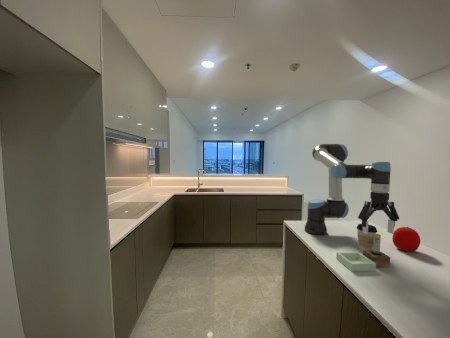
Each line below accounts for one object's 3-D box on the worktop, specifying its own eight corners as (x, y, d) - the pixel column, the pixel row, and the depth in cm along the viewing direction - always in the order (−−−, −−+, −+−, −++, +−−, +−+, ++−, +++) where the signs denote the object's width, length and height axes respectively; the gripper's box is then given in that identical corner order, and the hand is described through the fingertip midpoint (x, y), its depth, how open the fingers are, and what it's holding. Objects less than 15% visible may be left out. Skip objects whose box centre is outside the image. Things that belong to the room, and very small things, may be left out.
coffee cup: (379, 256, 110) (381, 229, 109) (360, 254, 112) (361, 228, 111) (370, 248, 119) (371, 224, 118) (352, 246, 121) (353, 222, 120)
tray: (336, 258, 107) (336, 252, 107) (357, 258, 108) (357, 251, 107) (351, 271, 95) (352, 264, 95) (375, 270, 96) (375, 263, 95)
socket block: (362, 259, 107) (362, 250, 106) (376, 258, 107) (377, 249, 107) (374, 267, 99) (375, 257, 98) (389, 266, 99) (390, 257, 99)
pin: (370, 261, 104) (372, 233, 103) (376, 261, 104) (377, 233, 103) (375, 264, 101) (376, 235, 100) (380, 264, 102) (382, 235, 101)
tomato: (395, 251, 116) (396, 227, 115) (389, 243, 126) (390, 222, 125) (424, 256, 110) (425, 231, 109) (415, 248, 121) (416, 225, 120)
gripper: (361, 193, 96) (359, 236, 97) (410, 193, 98) (407, 235, 99) (351, 190, 104) (349, 230, 105) (396, 190, 105) (394, 230, 106)
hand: (377, 233), depth 102 cm, fingers open, 13 cm apart
